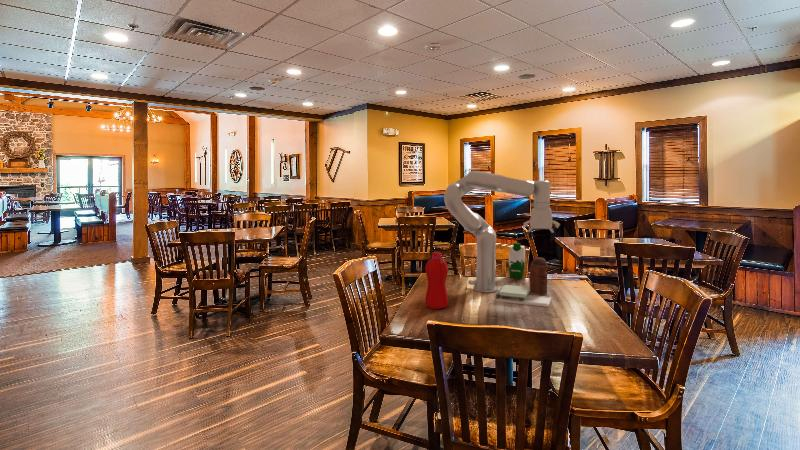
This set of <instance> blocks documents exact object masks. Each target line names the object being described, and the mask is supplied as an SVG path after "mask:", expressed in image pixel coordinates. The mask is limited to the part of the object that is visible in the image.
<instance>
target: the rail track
mask: <svg viewBox="0 0 800 450" xmlns="http://www.w3.org/2000/svg"><path fill="white" fill-rule="evenodd" d="M502 288H503V287H501V288H499V289H498V290H497V291H496V293H495V299H494V300H495V302H499V303H500V302H502V303H511V304H519V305H527V306H528V305H529V306H537V307H544V308H549V306H550V303H551V301H552V296H546V295H535V294H533V295H532V294H528V295H527V296H526V298H525V299H524V300H519V299H518V297H512V296H507V298H505V299H503V298H502V297H501V295H499V292H500V291H501V289H502Z"/></svg>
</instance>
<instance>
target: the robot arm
mask: <svg viewBox="0 0 800 450" xmlns="http://www.w3.org/2000/svg"><path fill="white" fill-rule="evenodd" d="M475 189H481V190H486V191H492V192H496V193H505V194H510V195H517V196H522V197H529V196H533V202H532V203H530V207H533V208H532V209H531V212H530V219H529V220H527V221H525V222H523V226H524V228H525V230H527V232H528V239H529V240H530V241H531V240H533V231H532V230H533V229H535V230H536V229H538V230H549V231H550V234H549V236H550V237H549V240H550V242H552V241H553V240H554V237H555V235H554V234H555V232H556V231H557V230H558V229H559V227H560V226H561V223H559V222H558V221H556V220H553V212H552V208H551V206H550V205H551V201H550V200H551V183H550V181H549V180H525V179H518V178H514V177H507V176H505V175H501V174H497V173H489V172H485V171H480V170H471V171H469V172H468V173H467V174H465V176H463V177H461V178H460V179H459V180H457V181H455V182H454V183H450V184H448V186H447V187H446V188H445V191H444V196H443V200H444V204H445V208H446V209H447V210H448V212H449V213H450V214H451V215H452V216H453V217H454V218H455V219H456V220H457V222H458V223H459V224H460V225H461V226H462V227H463V228H464V229H465V231H467V232H469V233H471V234H472V235H473V236H474V237H475V238H476V272H475V273H476V276H475V277H476V279H475V280H472V279H468V285H471V286H472V285H473V287H472V288H473V290H474V291H476V292H478V293H479V292H480V293H494V292H498V291H499V287H498V286H496V246H497V245H496V244H497V233H496V231H495V230H494V228H493V227H491V225H490V224H489V223H487V221H486V220H485V219H484V218H483V217H482V216H481V215H480V214H478V213H477V212H474V211H472V210H471V209H470V208H469V207H468V206H467V205H466V204H465V203H464V202H463V200H462V197H464V196H465V195H468V194H469V193H470V192H472V191H474V190H475ZM528 224H530V225H529V226H530V227H529V226H528ZM553 225H555V227H554V228H553Z"/></svg>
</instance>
